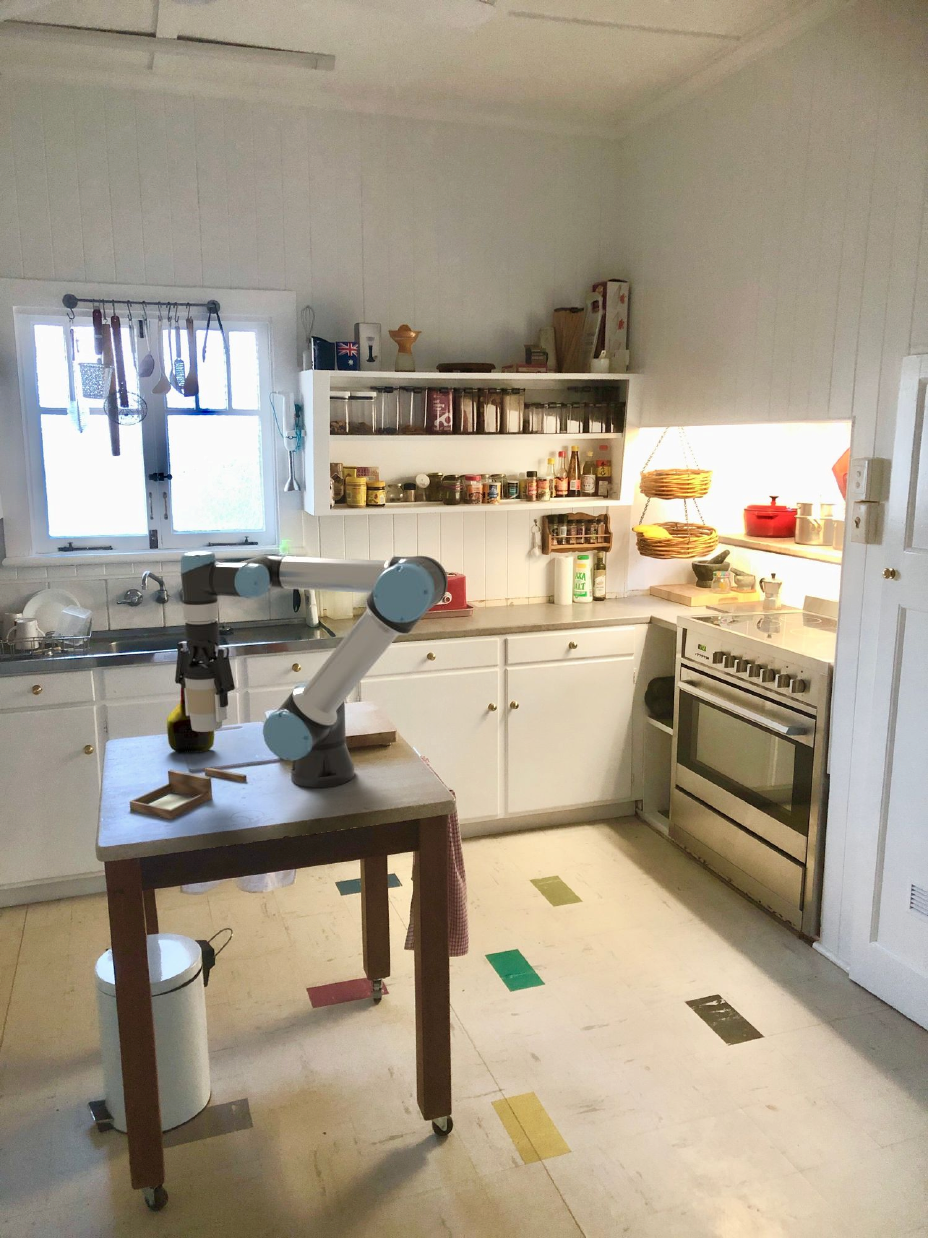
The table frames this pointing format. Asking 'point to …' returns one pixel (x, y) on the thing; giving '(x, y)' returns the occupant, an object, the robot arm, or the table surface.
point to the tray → (174, 803)
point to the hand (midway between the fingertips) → (206, 717)
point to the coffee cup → (201, 698)
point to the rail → (225, 774)
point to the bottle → (186, 732)
